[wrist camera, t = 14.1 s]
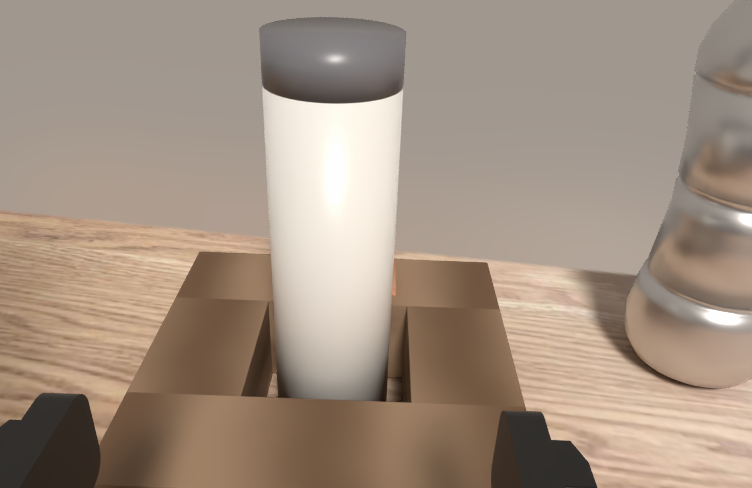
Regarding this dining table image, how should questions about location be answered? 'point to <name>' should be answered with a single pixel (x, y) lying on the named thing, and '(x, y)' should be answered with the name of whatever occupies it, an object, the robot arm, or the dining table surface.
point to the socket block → (314, 416)
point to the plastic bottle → (705, 228)
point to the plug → (332, 200)
